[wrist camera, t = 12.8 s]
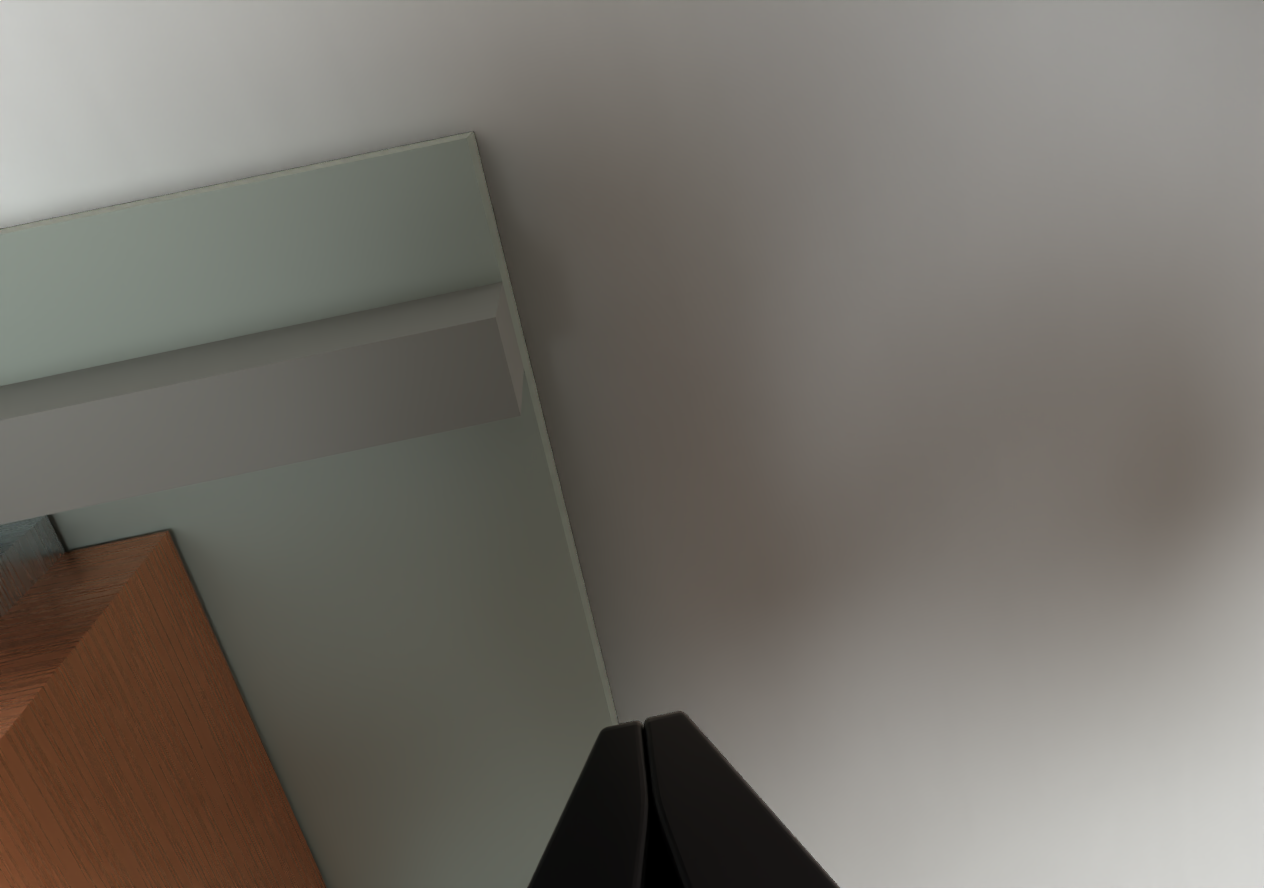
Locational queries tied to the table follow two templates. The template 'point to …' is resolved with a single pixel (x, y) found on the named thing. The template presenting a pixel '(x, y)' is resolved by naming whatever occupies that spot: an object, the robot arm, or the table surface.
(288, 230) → the grey fixture base
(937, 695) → the table surface
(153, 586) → the ram
